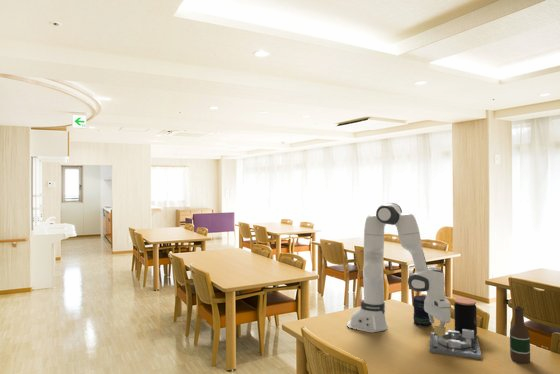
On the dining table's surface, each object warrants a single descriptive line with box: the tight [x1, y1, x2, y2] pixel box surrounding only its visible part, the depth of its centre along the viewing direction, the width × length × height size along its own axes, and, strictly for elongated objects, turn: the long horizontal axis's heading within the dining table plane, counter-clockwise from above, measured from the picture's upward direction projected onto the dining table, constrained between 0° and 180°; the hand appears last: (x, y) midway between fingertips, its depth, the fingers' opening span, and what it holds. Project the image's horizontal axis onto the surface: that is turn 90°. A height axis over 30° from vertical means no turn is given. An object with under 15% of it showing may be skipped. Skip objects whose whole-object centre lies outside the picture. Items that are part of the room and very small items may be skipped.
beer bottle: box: [509, 305, 531, 364], centre depth 175 cm, size 8×8×24 cm
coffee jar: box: [453, 297, 478, 337], centre depth 206 cm, size 11×11×18 cm
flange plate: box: [429, 331, 482, 360], centre depth 191 cm, size 22×22×6 cm
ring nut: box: [434, 325, 474, 349], centre depth 191 cm, size 18×15×6 cm
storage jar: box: [412, 295, 433, 328], centre depth 223 cm, size 10×10×15 cm
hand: (436, 325), depth 202 cm, fingers open, 8 cm apart
